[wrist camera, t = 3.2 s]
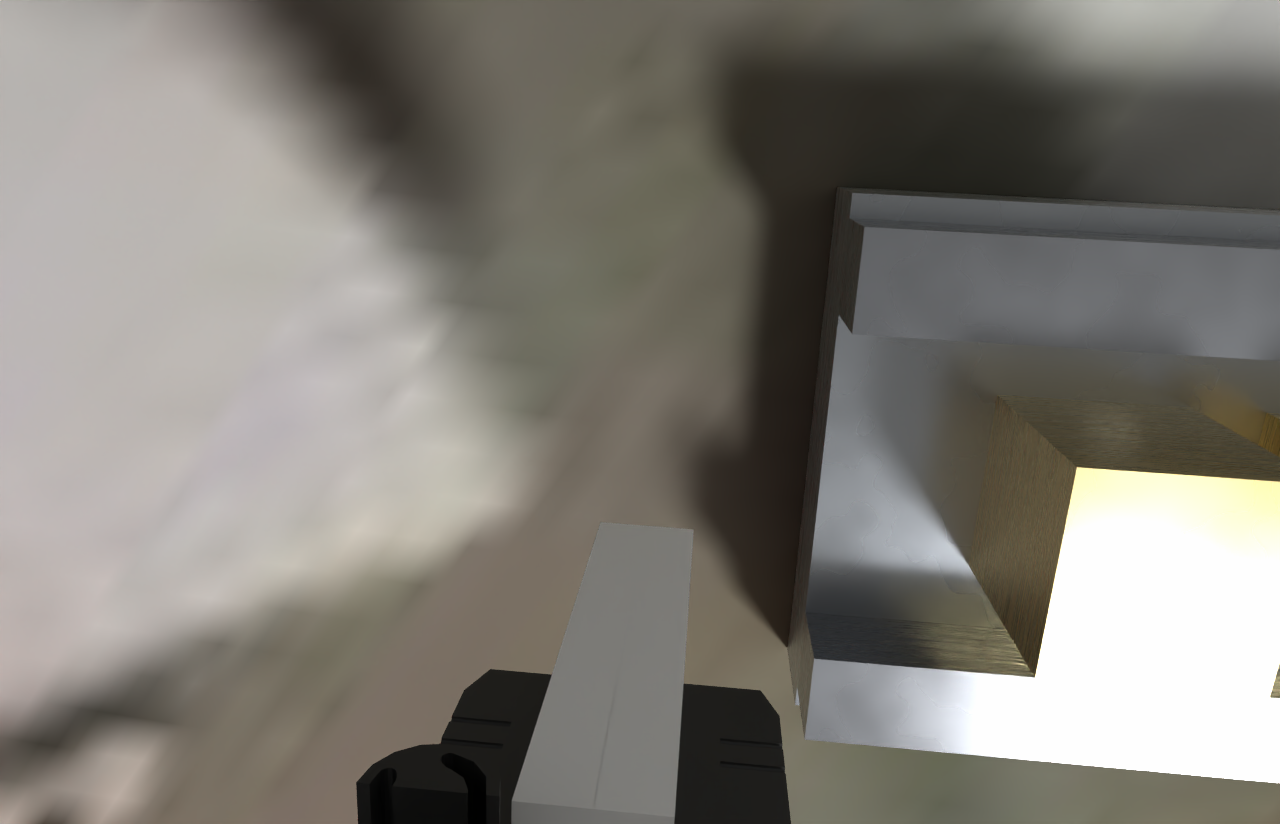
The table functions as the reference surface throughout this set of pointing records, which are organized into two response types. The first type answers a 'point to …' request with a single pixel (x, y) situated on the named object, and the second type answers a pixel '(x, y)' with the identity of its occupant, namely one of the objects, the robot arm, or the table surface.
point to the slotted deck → (958, 445)
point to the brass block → (1131, 545)
